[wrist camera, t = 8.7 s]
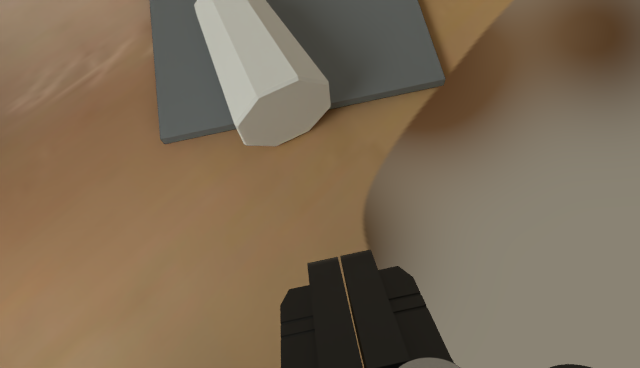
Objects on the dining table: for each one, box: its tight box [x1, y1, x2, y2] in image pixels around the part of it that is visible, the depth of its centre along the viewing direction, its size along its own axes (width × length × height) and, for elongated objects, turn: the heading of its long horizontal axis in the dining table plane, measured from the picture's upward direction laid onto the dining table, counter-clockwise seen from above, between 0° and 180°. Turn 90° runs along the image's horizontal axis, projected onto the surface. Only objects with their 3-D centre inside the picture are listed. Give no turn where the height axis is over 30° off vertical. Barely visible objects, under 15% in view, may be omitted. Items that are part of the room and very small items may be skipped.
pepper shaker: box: [194, 0, 331, 146], centre depth 26 cm, size 5×5×11 cm
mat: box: [150, 0, 445, 144], centre depth 28 cm, size 12×16×1 cm
